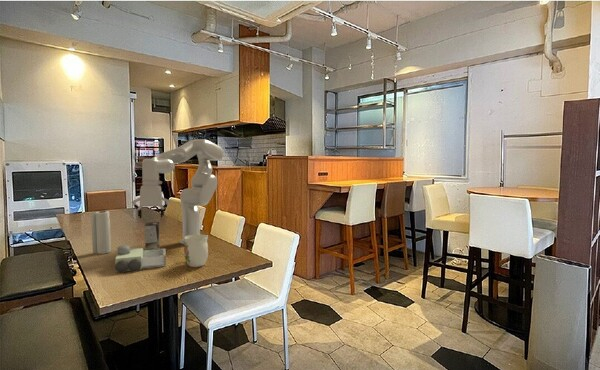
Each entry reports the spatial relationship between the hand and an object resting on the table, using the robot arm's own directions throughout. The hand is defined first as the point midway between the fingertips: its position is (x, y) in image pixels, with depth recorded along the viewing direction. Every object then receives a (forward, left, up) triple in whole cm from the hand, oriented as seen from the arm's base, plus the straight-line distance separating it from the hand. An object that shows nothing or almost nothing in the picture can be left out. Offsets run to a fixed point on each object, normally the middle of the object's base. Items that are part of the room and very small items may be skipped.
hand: (151, 217), depth 167 cm
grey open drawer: (-1, +15, -19) cm, 24 cm away
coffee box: (0, 0, -20) cm, 20 cm away
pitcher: (-19, +23, -20) cm, 36 cm away
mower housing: (+9, +15, -19) cm, 26 cm away
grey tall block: (+24, -13, -20) cm, 33 cm away
